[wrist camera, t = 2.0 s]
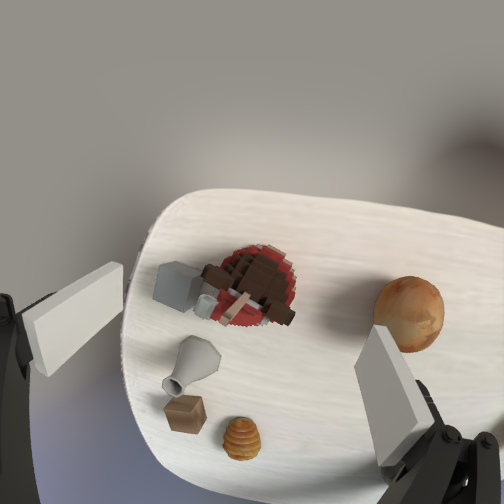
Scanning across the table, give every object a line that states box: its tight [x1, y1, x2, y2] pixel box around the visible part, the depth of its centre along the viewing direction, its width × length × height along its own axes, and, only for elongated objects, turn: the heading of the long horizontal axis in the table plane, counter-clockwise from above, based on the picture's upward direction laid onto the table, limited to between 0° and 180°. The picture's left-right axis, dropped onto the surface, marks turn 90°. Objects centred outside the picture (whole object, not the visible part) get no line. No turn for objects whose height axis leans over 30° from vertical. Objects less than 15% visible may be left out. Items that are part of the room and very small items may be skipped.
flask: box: [162, 335, 221, 398], centre depth 37 cm, size 7×7×10 cm
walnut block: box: [164, 395, 207, 434], centre depth 41 cm, size 5×5×5 cm
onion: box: [373, 276, 444, 353], centre depth 30 cm, size 10×10×10 cm
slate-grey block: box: [153, 261, 204, 313], centre depth 38 cm, size 5×5×5 cm
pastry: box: [223, 418, 261, 461], centre depth 40 cm, size 9×7×4 cm
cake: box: [193, 244, 297, 327], centre depth 30 cm, size 11×9×18 cm
